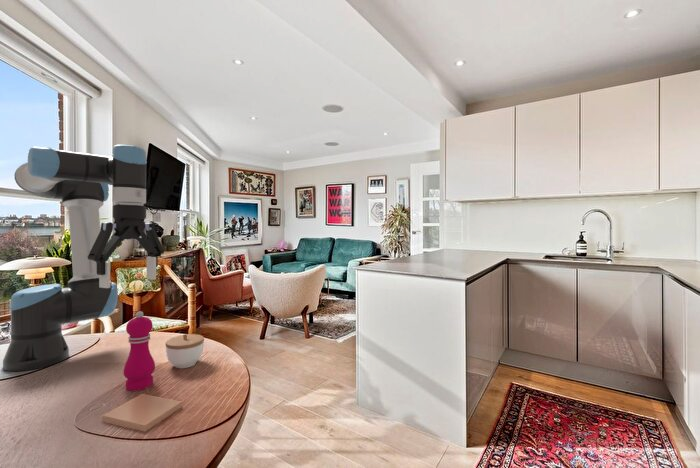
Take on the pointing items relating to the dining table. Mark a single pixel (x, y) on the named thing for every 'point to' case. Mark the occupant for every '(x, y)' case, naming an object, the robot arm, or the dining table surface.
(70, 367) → the dining table surface
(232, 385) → the dining table surface
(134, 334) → the pepper mill
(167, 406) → the tile
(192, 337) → the lidded jar
